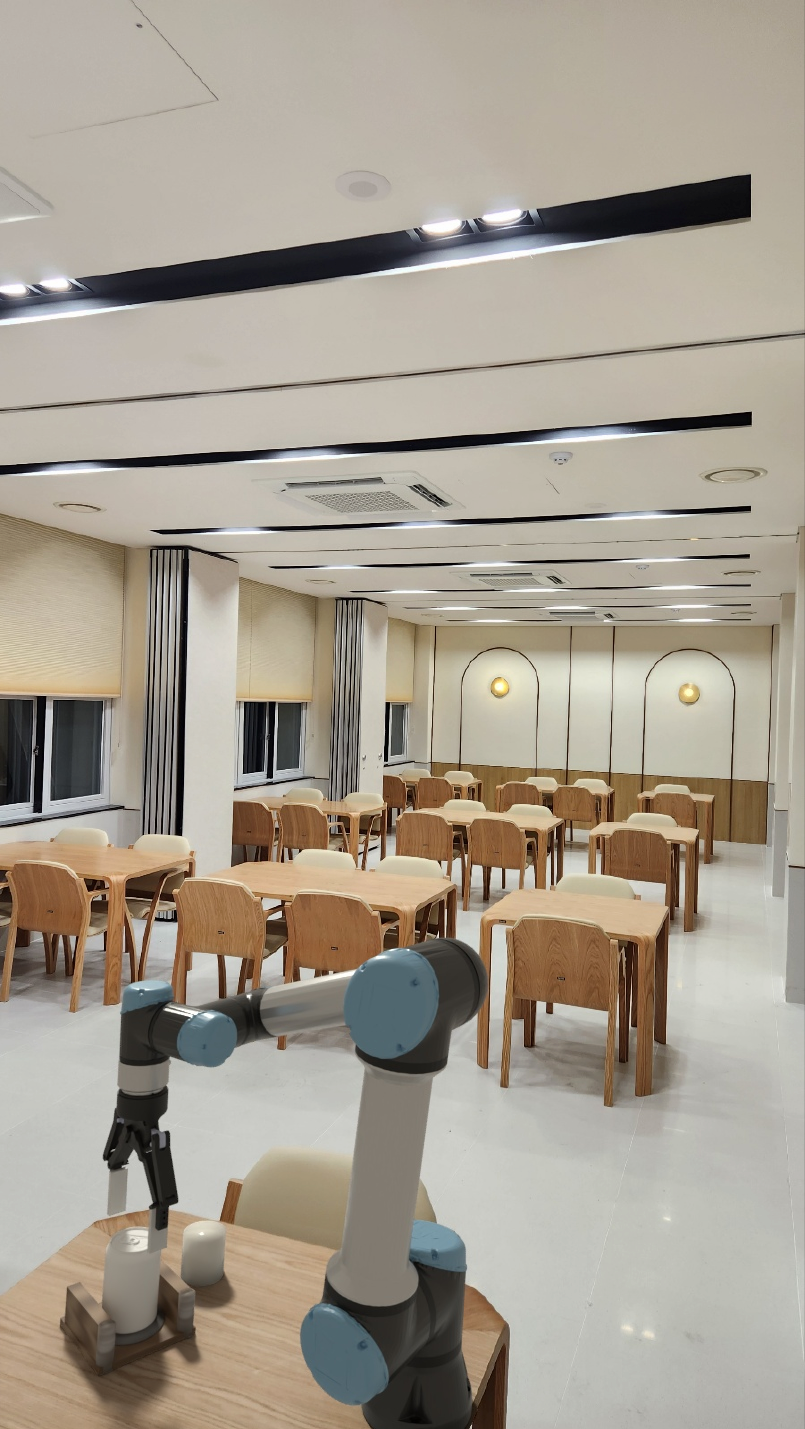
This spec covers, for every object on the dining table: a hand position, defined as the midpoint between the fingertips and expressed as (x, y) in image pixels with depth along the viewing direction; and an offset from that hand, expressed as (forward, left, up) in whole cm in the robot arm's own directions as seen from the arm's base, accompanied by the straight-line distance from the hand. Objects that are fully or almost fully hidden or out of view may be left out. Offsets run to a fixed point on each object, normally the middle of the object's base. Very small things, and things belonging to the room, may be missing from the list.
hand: (136, 1230), depth 136 cm
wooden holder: (0, 0, -15) cm, 15 cm away
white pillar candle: (+6, -16, -15) cm, 23 cm away
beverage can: (0, 0, -14) cm, 14 cm away
